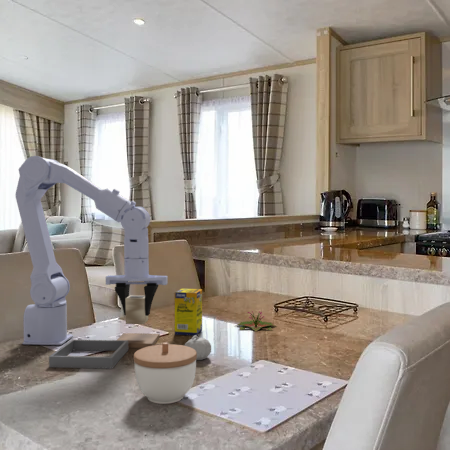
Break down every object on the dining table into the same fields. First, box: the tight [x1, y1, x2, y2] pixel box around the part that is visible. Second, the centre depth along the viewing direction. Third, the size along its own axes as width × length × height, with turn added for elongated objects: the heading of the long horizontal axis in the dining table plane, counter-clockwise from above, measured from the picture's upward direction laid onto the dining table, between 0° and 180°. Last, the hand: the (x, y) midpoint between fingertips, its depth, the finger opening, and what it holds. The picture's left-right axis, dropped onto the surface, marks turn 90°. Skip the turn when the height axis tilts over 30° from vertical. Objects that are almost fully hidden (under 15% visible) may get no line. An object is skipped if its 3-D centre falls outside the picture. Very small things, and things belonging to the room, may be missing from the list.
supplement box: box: [173, 288, 203, 337], centre depth 132 cm, size 6×6×11 cm
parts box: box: [125, 294, 149, 325], centre depth 123 cm, size 4×4×6 cm
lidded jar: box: [133, 341, 197, 405], centre depth 88 cm, size 11×11×9 cm
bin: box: [48, 339, 129, 369], centre depth 111 cm, size 13×13×2 cm
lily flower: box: [234, 310, 278, 332], centre depth 139 cm, size 12×12×5 cm
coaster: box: [116, 332, 160, 349], centre depth 123 cm, size 9×9×1 cm
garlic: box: [183, 334, 212, 361], centre depth 110 cm, size 6×5×5 cm
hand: (137, 314), depth 123 cm, fingers closed on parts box, 4 cm apart
